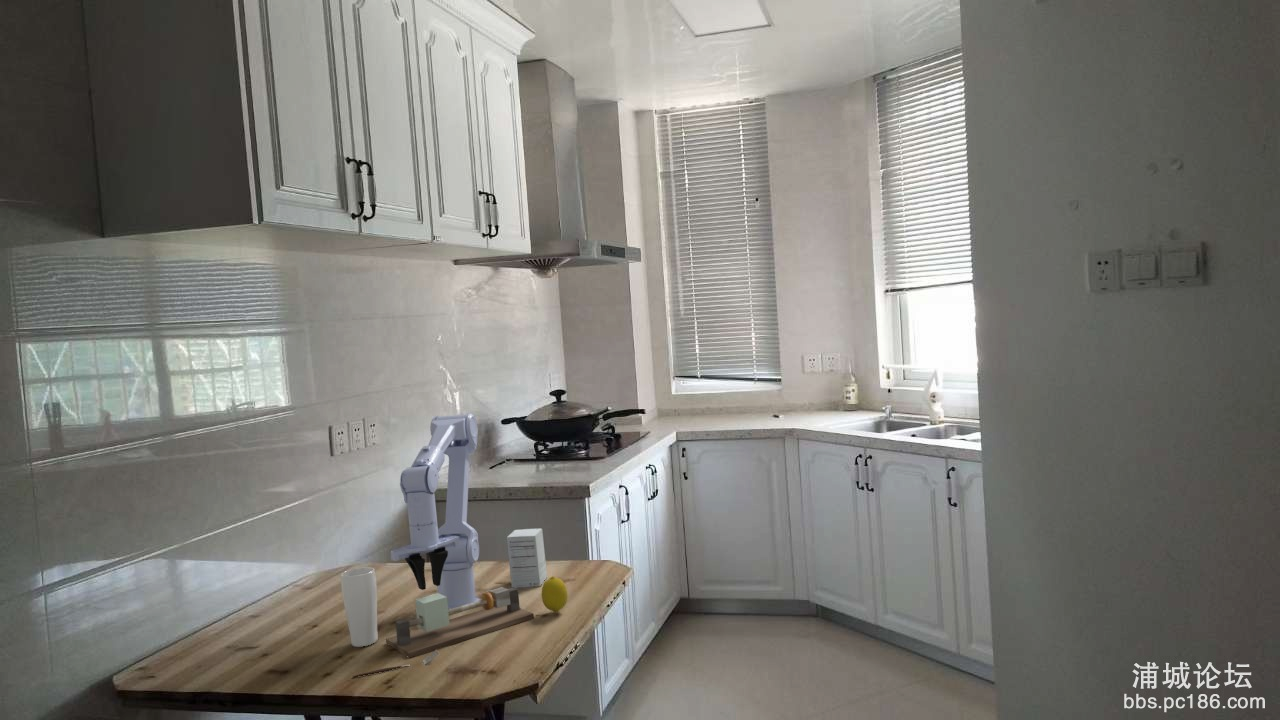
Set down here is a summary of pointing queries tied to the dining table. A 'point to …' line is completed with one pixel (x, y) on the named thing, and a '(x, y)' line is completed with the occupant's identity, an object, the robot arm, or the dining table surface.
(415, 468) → the robot arm
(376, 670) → the fork
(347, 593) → the drinking glass
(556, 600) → the lemon
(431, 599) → the pale green block
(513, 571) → the supplement box
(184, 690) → the dining table surface
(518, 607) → the board
